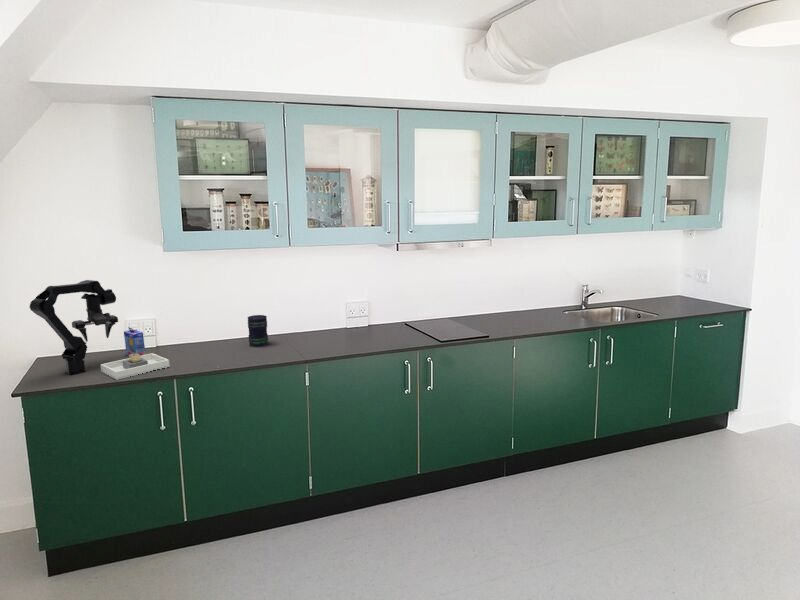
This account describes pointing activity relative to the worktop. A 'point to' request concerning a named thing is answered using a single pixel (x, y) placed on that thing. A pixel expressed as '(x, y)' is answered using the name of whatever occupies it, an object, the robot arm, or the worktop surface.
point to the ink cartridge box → (134, 342)
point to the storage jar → (257, 331)
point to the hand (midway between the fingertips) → (97, 339)
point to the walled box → (134, 366)
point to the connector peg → (134, 358)
